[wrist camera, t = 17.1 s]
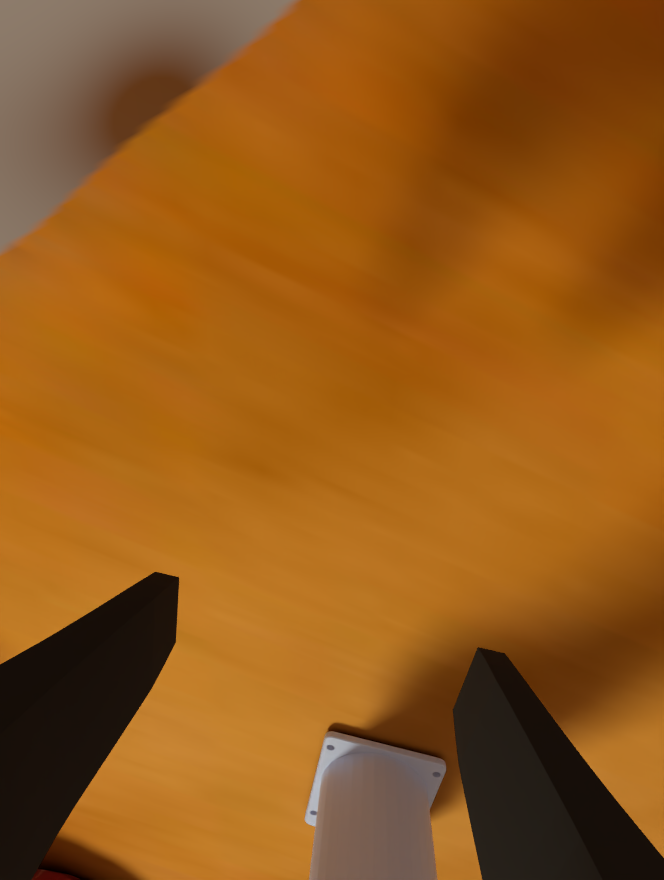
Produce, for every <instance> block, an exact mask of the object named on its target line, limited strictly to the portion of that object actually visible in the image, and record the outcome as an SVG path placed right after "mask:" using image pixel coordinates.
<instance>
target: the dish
mask: <svg viewBox="0 0 664 880" xmlns="http://www.w3.org/2000/svg"><path fill="white" fill-rule="evenodd" d="M32 880H80V879H79V878H76V877H74V876H72V875H68V874H64V873H58V872H53V871H49V870H45V869H37V871H36V873H35V874H34V876H33V878H32Z"/></svg>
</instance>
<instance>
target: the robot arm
mask: <svg viewBox="0 0 664 880" xmlns="http://www.w3.org/2000/svg"><path fill="white" fill-rule="evenodd" d="M178 589H179V577H175V576H171V575H167V574H162V573H158V572H154V573H152V574H151V575H149V576H148V577H146V578H144V579H143V580H141V581H139V582H138V583H136V584H135V585H133V586H131V587H130V588H128V589H127V590H125V591H123V592H122V593H120V594H119V595H117V596H115V597H114V598H112V599H111V600H109V601H107V602H106V603H104V604H103V605H101V606H99V607H98V608H96V609H95V610H93V611H91V612H90V613H88V614H86V615H85V616H83V617H81V618H80V619H78V620H76V621H75V622H73V623H72V624H70V625H68V626H67V627H65V628H63V629H62V630H60V631H58V632H57V633H55V634H53V635H52V636H50V637H48V638H47V639H45V640H43V641H41V642H40V643H38V644H36V645H34V646H32V647H31V648H29V649H27V650H25V651H24V652H22V653H20V654H18V655H17V656H15V657H13V658H11V659H9V660H8V661H6V662H4V663H2V664H1V665H0V880H32V878H33V876H34V874H35V873H36V871H37V869H38V867H39V865H40V864H41V862H42V860H43V858H44V857H45V855H46V853H47V851H48V850H49V848H50V846H51V844H52V843H53V841H54V839H55V837H56V836H57V834H58V833H59V831H60V829H61V828H62V826H63V824H64V823H65V821H66V820H67V818H68V816H69V815H70V813H71V811H72V810H73V808H74V807H75V805H76V804H77V802H78V800H79V799H80V797H81V796H82V794H83V793H84V791H85V790H86V788H87V787H88V785H89V784H90V782H91V781H92V779H93V778H94V776H95V775H96V773H97V771H98V770H99V768H100V767H101V765H102V764H103V762H104V761H105V759H106V758H107V756H108V755H109V753H110V752H111V750H112V749H113V747H114V746H115V744H116V743H117V741H118V739H119V738H120V736H121V735H122V733H123V732H124V730H125V729H126V727H127V726H128V724H129V723H130V721H131V720H132V718H133V717H134V715H135V713H136V712H137V710H138V709H139V707H140V706H141V704H142V703H143V701H144V700H145V698H146V696H147V695H148V693H149V692H150V690H151V689H152V687H153V685H154V683H155V681H156V679H157V677H158V676H159V674H160V672H161V670H162V668H163V666H164V664H165V662H166V660H167V658H168V656H169V654H170V652H171V650H172V648H173V647H174V645H175V643H176V627H177V608H178ZM453 716H454V726H455V736H456V745H457V754H458V762H459V768H460V774H461V779H462V784H463V788H464V793H465V798H466V803H467V808H468V813H469V818H470V822H471V827H472V832H473V837H474V841H475V846H476V851H477V856H478V860H479V865H480V870H481V875H482V879H483V880H664V858H663V857H662V856H661V854H660V853H659V852H658V851H657V850H656V848H655V847H654V846H653V845H652V843H651V842H650V841H649V840H648V839H647V837H646V836H645V835H644V834H643V833H642V831H641V830H640V829H639V828H638V826H637V825H636V824H635V823H634V822H633V820H632V819H631V818H630V817H629V815H628V814H627V813H626V812H625V811H624V809H623V808H622V807H621V806H620V804H619V803H618V802H617V801H616V799H615V798H614V797H613V796H612V794H611V793H610V792H609V791H608V789H607V788H606V787H605V786H604V784H603V783H602V782H601V781H600V779H599V778H598V777H597V775H596V774H595V773H594V772H593V770H592V769H591V768H590V766H589V765H588V764H587V763H586V761H585V760H584V759H583V757H582V756H581V755H580V753H579V752H578V751H577V750H576V748H575V747H574V746H573V744H572V743H571V742H570V740H569V739H568V738H567V736H566V735H565V734H564V732H563V731H562V730H561V728H560V727H559V726H558V724H557V723H556V722H555V720H554V719H553V718H552V716H551V715H550V714H549V712H548V711H547V710H546V708H545V707H544V706H543V704H542V703H541V701H540V700H539V699H538V697H537V696H536V695H535V693H534V692H533V691H532V689H531V688H530V687H529V685H528V684H527V682H526V681H525V680H524V678H523V677H522V676H521V674H520V673H519V672H518V670H517V669H516V668H515V666H514V665H513V664H512V662H511V661H510V660H509V658H508V657H507V656H506V655H505V653H500V652H496V651H492V650H488V649H483V648H479V647H478V648H477V651H476V653H475V656H474V658H473V661H472V663H471V666H470V668H469V671H468V673H467V676H466V678H465V681H464V683H463V686H462V688H461V691H460V693H459V696H458V698H457V701H456V703H455V706H454V708H453ZM445 772H446V763H445V761H444V760H442V759H441V758H437V757H433V756H429V755H425V754H421V753H417V752H414V751H410V750H406V749H402V748H398V747H394V746H390V745H386V744H382V743H378V742H374V741H370V740H366V739H362V738H358V737H354V736H350V735H346V734H342V733H338V732H334V731H329V732H327V733H326V734H325V737H324V741H323V745H322V749H321V753H320V758H319V762H318V766H317V770H316V774H315V778H314V782H313V786H312V790H311V794H310V798H309V802H308V806H307V810H306V814H305V821H306V823H307V824H309V825H312V826H315V835H314V843H313V851H312V859H311V868H310V876H309V880H437V872H436V863H435V854H434V846H433V837H432V828H431V819H430V808H431V805H432V803H433V801H434V798H435V796H436V794H437V791H438V789H439V786H440V784H441V782H442V779H443V777H444V775H445Z"/></svg>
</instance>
